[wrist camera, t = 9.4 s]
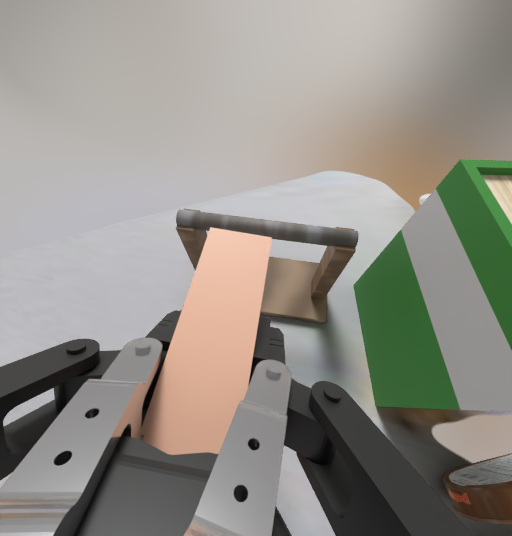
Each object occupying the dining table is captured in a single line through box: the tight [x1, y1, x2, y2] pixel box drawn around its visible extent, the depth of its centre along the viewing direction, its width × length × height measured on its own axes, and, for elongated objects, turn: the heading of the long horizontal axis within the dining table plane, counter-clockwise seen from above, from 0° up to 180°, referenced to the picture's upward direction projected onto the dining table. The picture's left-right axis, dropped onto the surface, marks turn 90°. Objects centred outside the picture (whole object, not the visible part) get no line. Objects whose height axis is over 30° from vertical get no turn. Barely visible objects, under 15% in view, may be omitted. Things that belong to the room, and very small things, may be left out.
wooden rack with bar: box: [176, 209, 358, 323], centre depth 33 cm, size 21×10×16 cm, turn 81°
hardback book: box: [354, 160, 512, 412], centre depth 25 cm, size 18×7×24 cm, turn 178°
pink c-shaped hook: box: [141, 227, 272, 455], centre depth 14 cm, size 3×10×12 cm, turn 171°
